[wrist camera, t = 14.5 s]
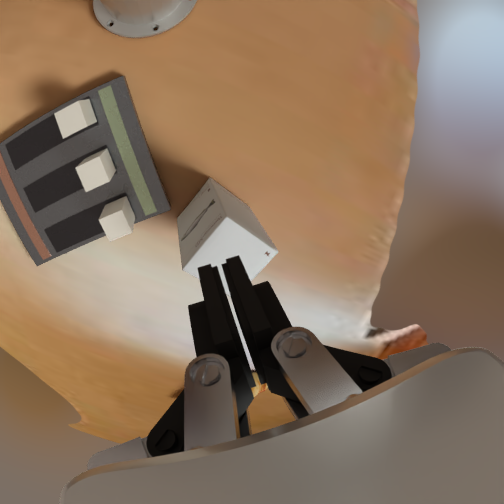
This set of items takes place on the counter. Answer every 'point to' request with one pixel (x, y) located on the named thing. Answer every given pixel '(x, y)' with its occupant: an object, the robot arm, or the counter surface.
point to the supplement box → (222, 233)
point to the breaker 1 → (75, 117)
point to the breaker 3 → (117, 219)
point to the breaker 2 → (96, 170)
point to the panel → (67, 179)
